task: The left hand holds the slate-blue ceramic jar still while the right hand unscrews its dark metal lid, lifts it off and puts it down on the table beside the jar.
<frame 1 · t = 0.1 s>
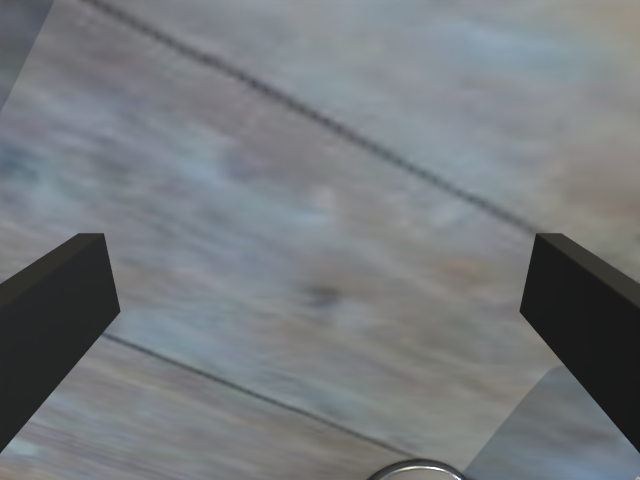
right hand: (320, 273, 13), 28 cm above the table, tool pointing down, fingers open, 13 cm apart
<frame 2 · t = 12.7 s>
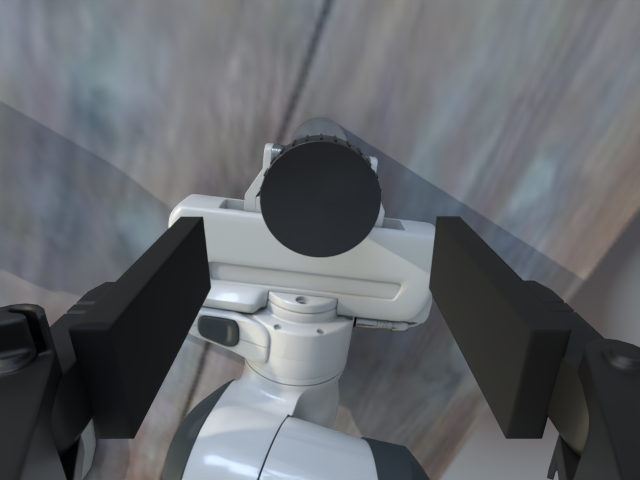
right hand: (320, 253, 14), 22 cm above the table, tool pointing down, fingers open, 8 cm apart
left hand: (321, 151, 28), fingers closed on jar, 5 cm apart
lid: (320, 200, 20), point 16 cm above the table, screwed on, not yet turned
jar: (320, 148, 35), on the table, touching left hand
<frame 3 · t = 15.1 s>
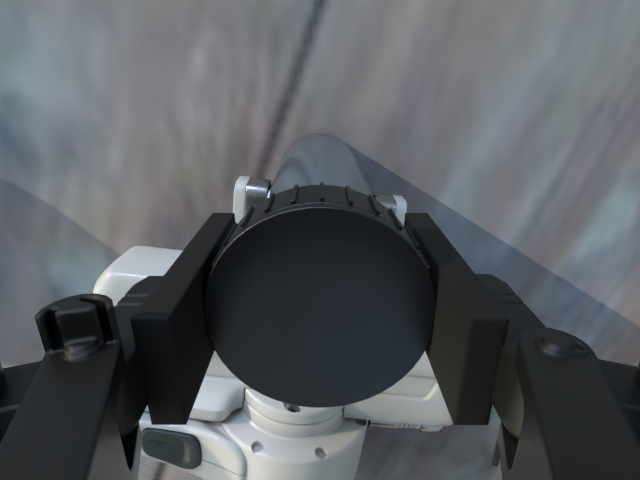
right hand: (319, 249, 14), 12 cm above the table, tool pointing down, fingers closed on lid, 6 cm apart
lid: (320, 311, 11), point 16 cm above the table, screwed on, not yet turned, touching right hand
jar: (319, 174, 25), on the table, touching left hand
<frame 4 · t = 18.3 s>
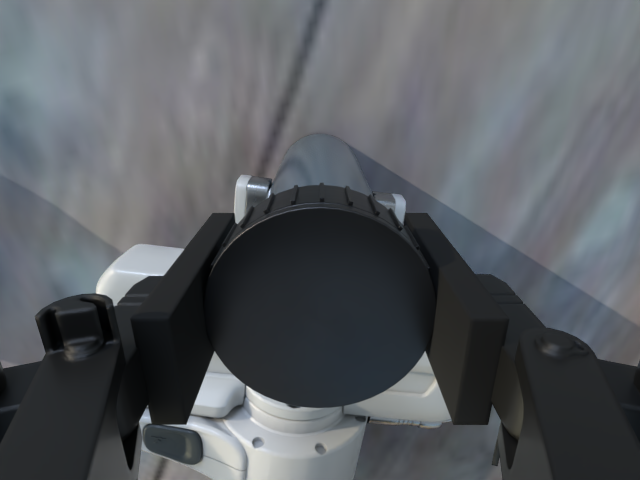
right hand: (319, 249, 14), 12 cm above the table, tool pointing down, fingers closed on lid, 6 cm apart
lid: (320, 311, 11), point 16 cm above the table, turned 107° so far, risen 0.3 cm, still on its thread, touching right hand
jar: (319, 173, 25), on the table, touching left hand
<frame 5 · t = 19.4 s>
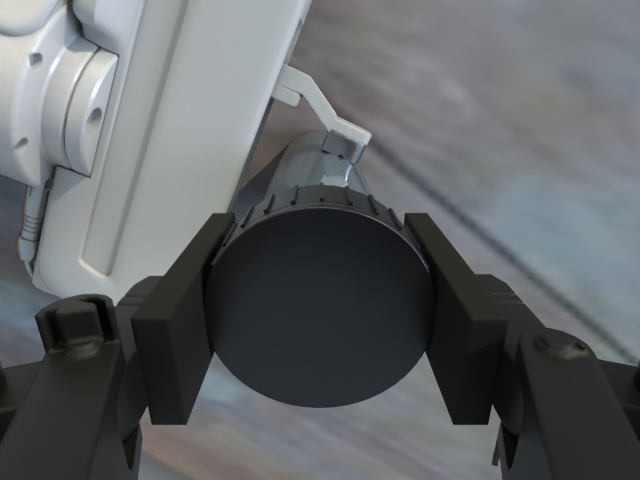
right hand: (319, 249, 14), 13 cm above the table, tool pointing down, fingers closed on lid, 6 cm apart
left hand: (335, 207, 20), fingers closed on jar, 5 cm apart
lid: (319, 311, 11), point 17 cm above the table, off its thread, touching right hand
jar: (318, 170, 26), on the table, touching left hand
when the right hand's fingers open (0 cm above the table, at t = 24.6 s): lid stays where it is, point 2 cm above the table.
when the left hand's fingers open (7 cm above the table, at t = 25.6 s): jar stays where it is, on the table.
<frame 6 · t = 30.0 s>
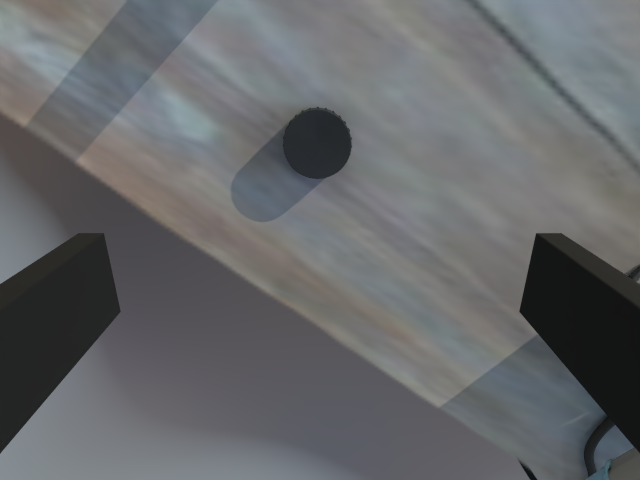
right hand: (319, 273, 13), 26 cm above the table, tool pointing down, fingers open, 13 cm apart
lid: (317, 144, 35), point 2 cm above the table, off its thread
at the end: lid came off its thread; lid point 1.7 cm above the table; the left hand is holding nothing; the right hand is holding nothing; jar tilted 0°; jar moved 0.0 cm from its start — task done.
